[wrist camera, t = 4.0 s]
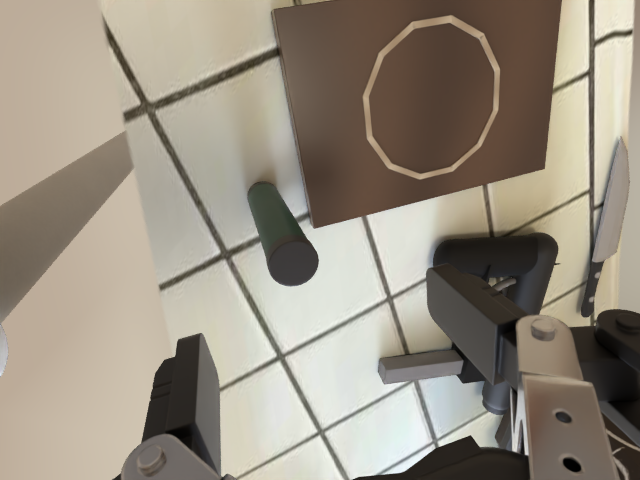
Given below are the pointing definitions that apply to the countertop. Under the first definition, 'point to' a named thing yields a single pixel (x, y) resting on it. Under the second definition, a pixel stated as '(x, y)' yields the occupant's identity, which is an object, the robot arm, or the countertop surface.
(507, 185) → the countertop surface
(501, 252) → the door handle
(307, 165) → the drawing board
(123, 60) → the countertop surface
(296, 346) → the countertop surface
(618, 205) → the chef's knife
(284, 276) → the marker
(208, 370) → the robot arm
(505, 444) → the coffee canister
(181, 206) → the countertop surface
